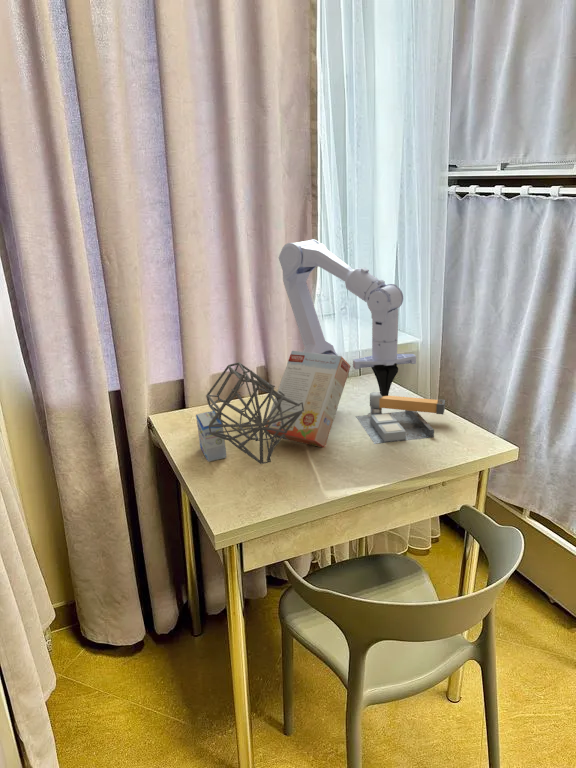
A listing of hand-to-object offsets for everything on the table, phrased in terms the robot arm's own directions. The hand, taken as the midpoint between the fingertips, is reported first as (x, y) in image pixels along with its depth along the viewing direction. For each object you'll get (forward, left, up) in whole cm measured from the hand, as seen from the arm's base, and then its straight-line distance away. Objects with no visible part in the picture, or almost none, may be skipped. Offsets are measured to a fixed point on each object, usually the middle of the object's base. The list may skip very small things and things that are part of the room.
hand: (384, 394), depth 130 cm
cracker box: (-23, -4, -7) cm, 24 cm away
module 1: (0, 0, -8) cm, 8 cm away
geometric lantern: (-35, +16, -1) cm, 38 cm away
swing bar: (+6, +2, -5) cm, 9 cm away
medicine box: (-41, -3, -9) cm, 42 cm away
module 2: (0, -6, -8) cm, 10 cm away
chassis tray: (+2, -1, -9) cm, 9 cm away
